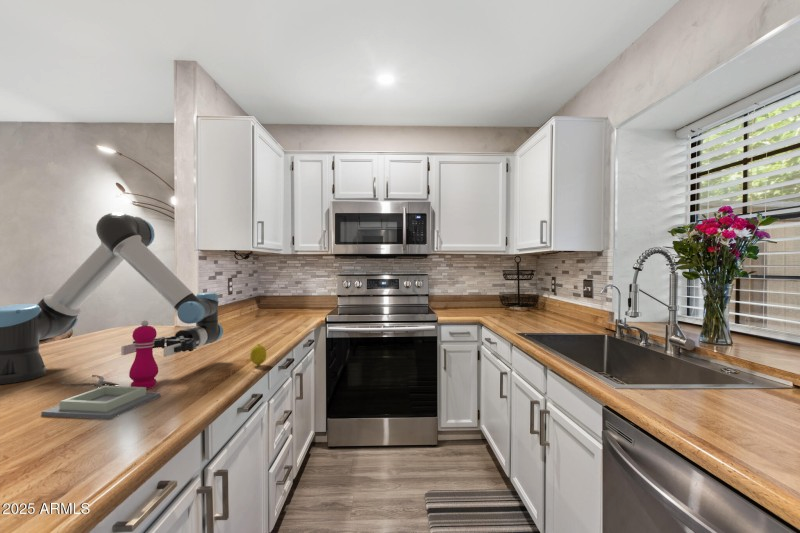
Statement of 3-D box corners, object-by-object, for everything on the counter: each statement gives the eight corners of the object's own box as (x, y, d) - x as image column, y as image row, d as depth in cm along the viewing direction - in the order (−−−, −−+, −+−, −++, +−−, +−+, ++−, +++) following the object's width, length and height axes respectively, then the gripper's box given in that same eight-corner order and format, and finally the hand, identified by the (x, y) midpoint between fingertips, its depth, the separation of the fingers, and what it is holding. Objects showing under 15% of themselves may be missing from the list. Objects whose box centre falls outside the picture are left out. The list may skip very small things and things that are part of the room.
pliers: (89, 374, 122) (138, 378, 118) (89, 376, 122) (138, 380, 118) (56, 382, 113) (108, 387, 109) (56, 385, 113) (108, 390, 109)
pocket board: (41, 415, 89) (41, 403, 89) (101, 393, 104) (101, 383, 104) (109, 419, 87) (110, 406, 87) (160, 396, 103) (160, 385, 103)
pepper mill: (163, 383, 114) (164, 319, 114) (145, 391, 107) (146, 322, 107) (142, 383, 115) (143, 318, 115) (122, 390, 108) (123, 322, 108)
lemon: (262, 367, 134) (263, 345, 134) (247, 367, 134) (248, 345, 134) (268, 364, 139) (268, 342, 139) (254, 363, 139) (254, 342, 139)
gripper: (223, 350, 130) (182, 365, 109) (157, 348, 132) (104, 362, 111) (223, 328, 130) (182, 340, 109) (157, 327, 132) (105, 337, 111)
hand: (143, 351), depth 110 cm, fingers open, 13 cm apart
